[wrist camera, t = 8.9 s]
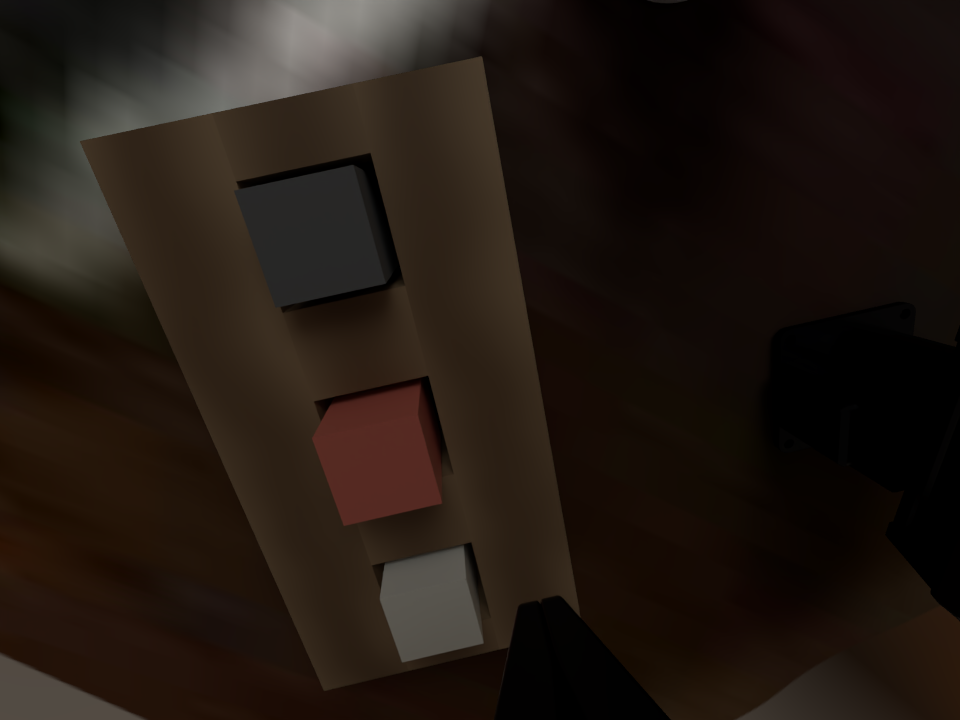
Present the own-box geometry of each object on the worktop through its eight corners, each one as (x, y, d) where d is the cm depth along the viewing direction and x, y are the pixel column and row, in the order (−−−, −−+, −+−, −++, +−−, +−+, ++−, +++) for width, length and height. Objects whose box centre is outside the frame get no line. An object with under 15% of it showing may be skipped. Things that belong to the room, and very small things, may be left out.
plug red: (422, 364, 19) (417, 414, 15) (441, 435, 20) (442, 503, 16) (342, 382, 19) (312, 438, 15) (365, 452, 20) (343, 525, 16)
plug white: (460, 501, 22) (466, 578, 18) (474, 556, 24) (483, 643, 19) (391, 516, 22) (379, 599, 18) (409, 571, 24) (402, 662, 19)
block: (472, 89, 17) (482, 56, 14) (560, 565, 25) (582, 629, 21) (158, 156, 17) (79, 141, 13) (341, 616, 25) (324, 690, 21)
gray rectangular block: (375, 176, 18) (353, 164, 13) (398, 264, 19) (385, 283, 14) (288, 195, 18) (233, 190, 13) (316, 282, 19) (275, 307, 14)
